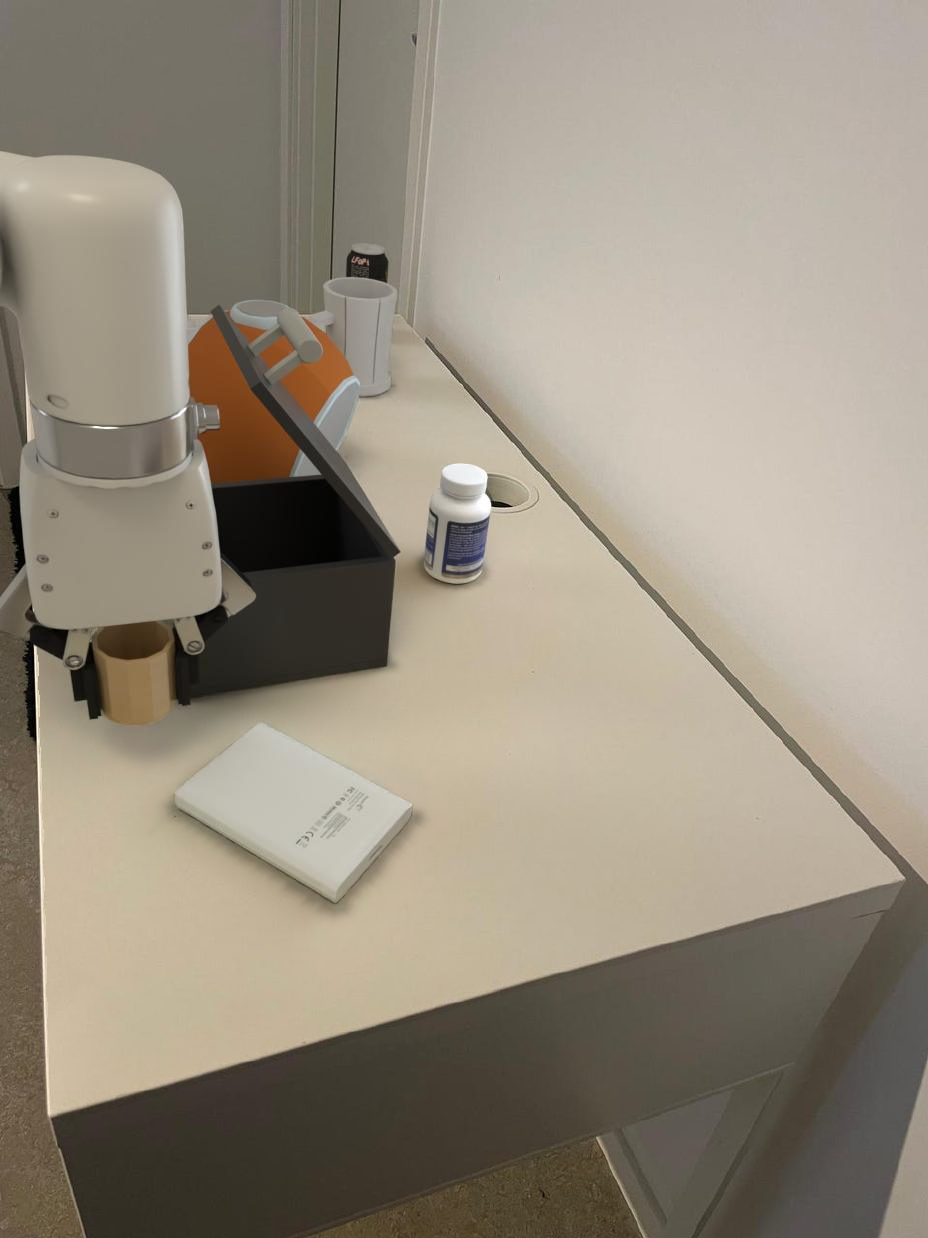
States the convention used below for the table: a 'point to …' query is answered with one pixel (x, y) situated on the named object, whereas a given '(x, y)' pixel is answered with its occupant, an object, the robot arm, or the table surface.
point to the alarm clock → (246, 426)
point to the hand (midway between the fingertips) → (138, 695)
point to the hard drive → (295, 809)
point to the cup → (361, 327)
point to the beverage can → (367, 262)
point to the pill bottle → (458, 525)
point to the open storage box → (297, 587)
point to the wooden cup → (135, 671)
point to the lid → (299, 407)
